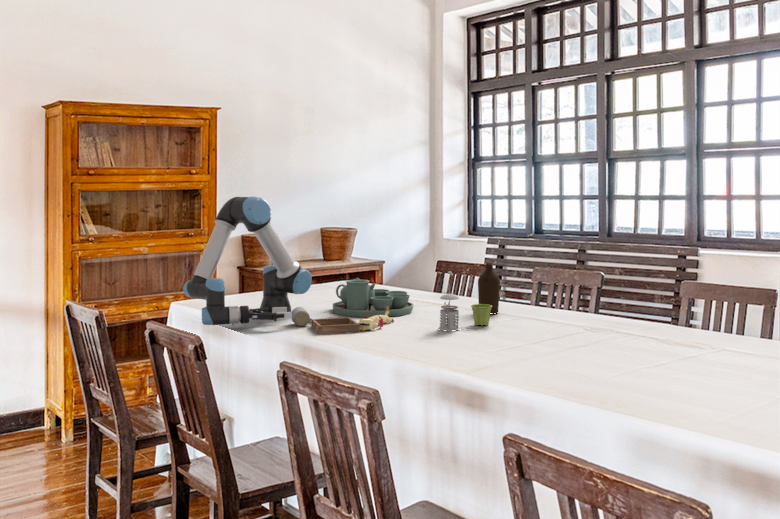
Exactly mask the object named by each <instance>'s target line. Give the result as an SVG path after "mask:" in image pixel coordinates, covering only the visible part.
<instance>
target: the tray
mask: <svg viewBox="0 0 780 519" xmlns="http://www.w3.org/2000/svg"><path fill="white" fill-rule="evenodd" d="M311 319H312V324H311V328H312V329H313V330H314V331H315V330H316V331H315V332H316V333H317V334H319V335H331V334H330V333H336V334H347V333H346V332H353V333H361V329H360V324H359V322H357V321H356V320H354V319H353V318H351V316H348V317H333V318H331V317H330V318H314V319H313V318H311Z"/></svg>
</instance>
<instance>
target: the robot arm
mask: <svg viewBox="0 0 780 519" xmlns="http://www.w3.org/2000/svg"><path fill="white" fill-rule="evenodd" d="M271 211H272V210H271V206H270V204H269V203H268V201H267V200H265V199H264V198H262V197H258V196H235V197H234V196H233V197H231V198H229V199H227V201H226V202H225V203H224V204H223V205H222V207H221V208H220V210H219V212H218V213H217V216H216V217H215V220H214V224H215V226H214V227H213V230H212V232H211V235H210V237H209V239H208V241H207V244H206V246H205V248H204V251H203V253H202V255H201V258H200V259H199V262H198V264H197V267H196V269H195V271H194V273H193V276H192V278H191V280H189V279H188V280H187V281H186V282H185V283H184V284H183V287H182V288H183V293H184V295H185V296H186V297H188V298H192V299H198V300H202V301H203V300H204V301H205V302H206V305H205V306H204V307H202V308H201V323H202V325H205V326H218V325H219V326H223V325H231V326H234V325H236V324H237V325H238V324H239V323H240V324H243V325H244V324H249V323H250V319H252V320H253V321H255V320H256V321H257V320H259V321H263V320H264V321H274V322H277V320H282V319H283V320H287V319H288V320H289V319H291V318H292V305H291V303H290V300H289V296H288V294H292V295H293V294H294V295H304V294H306V293H307V292H308V291H309V290H310V288H311V286H312V282H313V280H312V274H311V272H310V271H309V270H307V269H306V268H305V269H303V268H302V266H301V265H300V263H299V261H297V260H294V259H293V258H292V256H291V255H290V253H289V251H288V249H287V248H286V246H285V244H284V243H283V241H282V240H281V238H280V236H279V235H278V233H277V232H276V230H275V228H274V227H273V225H272V224H271V221H272V216H271V215H272V213H271ZM239 224H243V226H244V227H245V228H246V230H247V231H248V233H253V235H254V236H255V237H256V239H257V240H258V242H259V243H260V245H261V246H262V249H263V250H264V251H265V253H266V254H267V256H268V258H269V259H270V261H271V262H272V265H267V266H264V267H263V268H262V293H263V294H262V296H263V297H262V299H261V300H262V301H261V303H260V306H259V308H257V307H256V308H249V305H240V306H238V305H232V306H231V305H229V306H228V305H227V306H225V305H226V304H225V303H226V302H225V300H226V299H225V298H226V296H225V289H226V287H225V281H224V279H223V278H218V277H216V278H215V277H213V276H214V274H215V271H216V269H217V267H218V265H219V262H220V259H221V257H222V255H223V253H224V250H225V248H226V247H227V246H226V245H227V244H228V241H229V239H230V236H231V234H232V232H233V231H236V228H237V226H238V225H239Z"/></svg>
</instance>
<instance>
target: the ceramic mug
mask: <svg viewBox="0 0 780 519" xmlns="http://www.w3.org/2000/svg"><path fill="white" fill-rule="evenodd" d="M291 312H292V318H290V319H291V321H292V322H293V323H294V324H295V325H296V326H297V327H305V326H307V325H309V324H310V325H312V319H313V318H311V315H310V314H309V312H308V310H307V309H306V308H304V307H302V306H297V307H296V306H295V307H294V308H293V309H292V310H291Z"/></svg>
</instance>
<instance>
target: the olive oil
mask: <svg viewBox="0 0 780 519" xmlns="http://www.w3.org/2000/svg"><path fill="white" fill-rule="evenodd" d="M493 264H494V263H493V261H485V270H483V272H482V273H481V274H480V275H479V276H478V280H477V290H478V294H477V296H478V298H477V299H478V304H487V305H492V307H491V311H490V313H497V312H498V313H499V307H500V306H499V305H500V304H499V303H500V302H499V301H500V289H501V288H500V287H501V280H500V277H499V275H498V274H497V273H496V272H495V271H494V269H493V267H494V265H493Z"/></svg>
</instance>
